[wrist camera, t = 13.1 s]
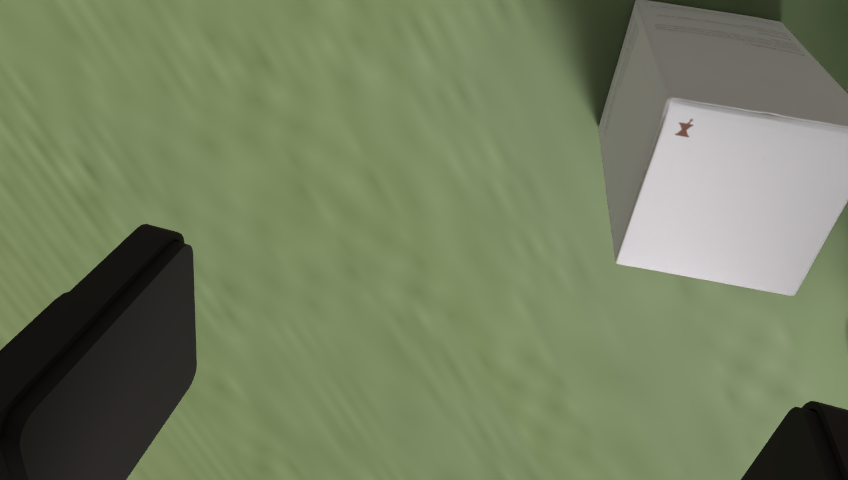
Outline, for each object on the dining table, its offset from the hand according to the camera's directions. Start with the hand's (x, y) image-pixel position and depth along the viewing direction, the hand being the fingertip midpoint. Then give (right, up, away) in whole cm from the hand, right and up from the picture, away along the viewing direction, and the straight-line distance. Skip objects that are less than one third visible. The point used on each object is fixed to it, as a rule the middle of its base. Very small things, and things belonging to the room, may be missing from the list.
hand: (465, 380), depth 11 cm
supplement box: (+13, +11, +24) cm, 30 cm away
